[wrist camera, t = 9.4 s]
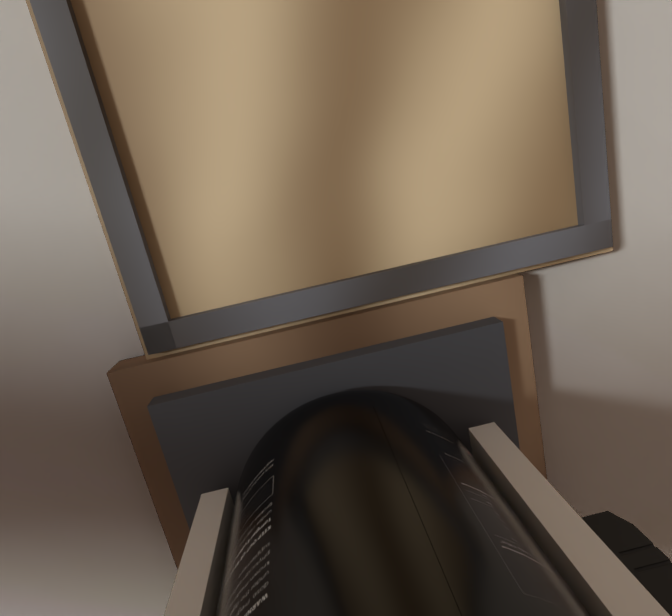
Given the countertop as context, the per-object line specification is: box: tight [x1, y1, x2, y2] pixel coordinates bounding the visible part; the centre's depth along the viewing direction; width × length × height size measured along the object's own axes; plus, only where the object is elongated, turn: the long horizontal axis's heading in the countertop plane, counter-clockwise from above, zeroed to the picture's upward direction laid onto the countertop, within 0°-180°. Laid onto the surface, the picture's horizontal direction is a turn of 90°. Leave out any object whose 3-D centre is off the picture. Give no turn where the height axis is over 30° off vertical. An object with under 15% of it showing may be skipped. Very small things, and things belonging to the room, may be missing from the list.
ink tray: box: [107, 273, 547, 569], centre depth 15 cm, size 12×10×1 cm
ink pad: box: [147, 317, 520, 530], centre depth 14 cm, size 10×8×1 cm
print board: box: [26, 0, 613, 360], centre depth 12 cm, size 14×14×1 cm
